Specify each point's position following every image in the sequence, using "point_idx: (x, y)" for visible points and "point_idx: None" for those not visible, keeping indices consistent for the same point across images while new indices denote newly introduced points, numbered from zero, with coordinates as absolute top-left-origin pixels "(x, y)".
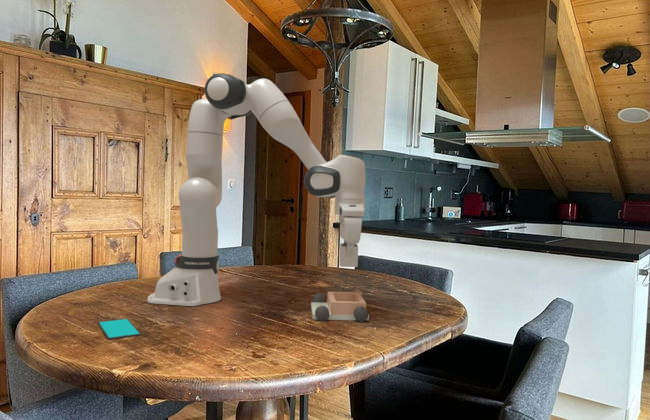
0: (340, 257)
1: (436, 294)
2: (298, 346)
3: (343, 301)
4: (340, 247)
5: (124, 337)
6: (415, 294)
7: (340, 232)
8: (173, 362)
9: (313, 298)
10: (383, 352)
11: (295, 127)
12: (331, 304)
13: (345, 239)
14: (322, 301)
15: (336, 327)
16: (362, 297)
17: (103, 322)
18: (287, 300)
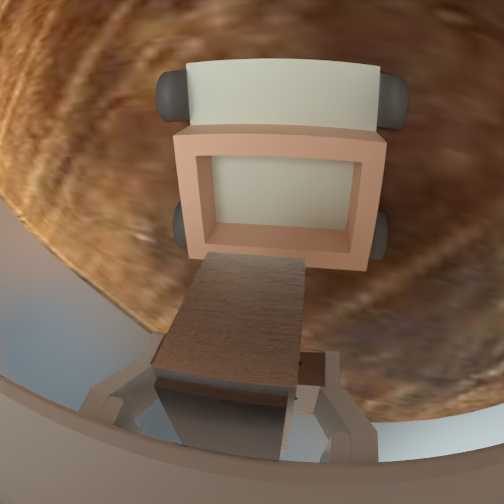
0: (223, 294)
1: (444, 410)
2: (5, 72)
3: (196, 184)
4: (228, 362)
5: None
6: (460, 385)
7: (480, 492)
8: None
9: (384, 75)
10: (22, 221)
11: None
12: (177, 134)
13: (7, 397)
14: (378, 113)
15: (123, 138)
16: None
17: None
18: (468, 4)
